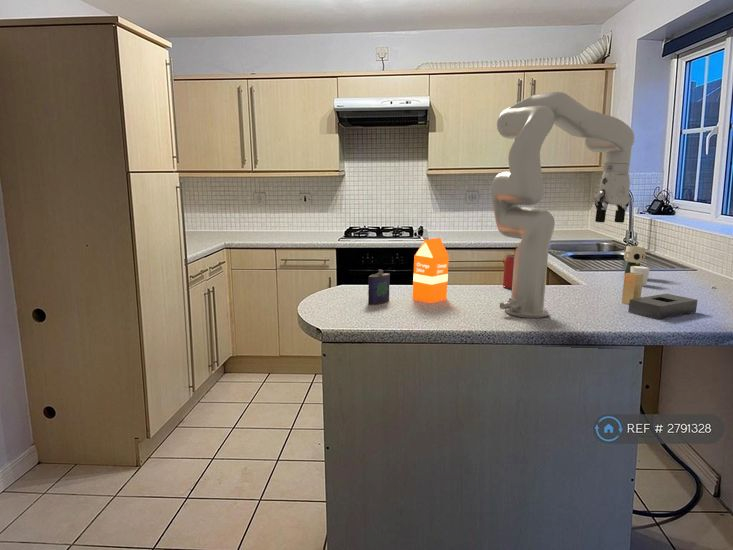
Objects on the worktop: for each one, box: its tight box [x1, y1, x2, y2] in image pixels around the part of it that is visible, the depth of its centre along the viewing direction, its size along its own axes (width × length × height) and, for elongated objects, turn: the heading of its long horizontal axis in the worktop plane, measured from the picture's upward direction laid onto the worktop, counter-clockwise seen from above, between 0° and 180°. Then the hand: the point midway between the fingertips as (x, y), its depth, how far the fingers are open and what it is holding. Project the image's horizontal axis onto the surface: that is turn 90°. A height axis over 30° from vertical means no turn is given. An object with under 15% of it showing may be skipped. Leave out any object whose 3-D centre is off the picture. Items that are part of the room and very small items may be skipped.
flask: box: [367, 269, 391, 306], centre depth 173 cm, size 9×3×11 cm, turn 138°
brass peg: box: [621, 272, 643, 305], centre depth 182 cm, size 4×4×10 cm
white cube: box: [630, 265, 651, 287], centre depth 216 cm, size 7×7×7 cm
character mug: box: [623, 245, 647, 276], centre depth 231 cm, size 11×7×13 cm, turn 108°
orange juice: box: [412, 237, 450, 304], centre depth 179 cm, size 8×9×20 cm
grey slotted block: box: [627, 293, 698, 320], centre depth 171 cm, size 20×10×4 cm, turn 121°
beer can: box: [502, 254, 515, 290], centre depth 203 cm, size 7×7×12 cm
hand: (609, 222), depth 181 cm, fingers open, 9 cm apart
